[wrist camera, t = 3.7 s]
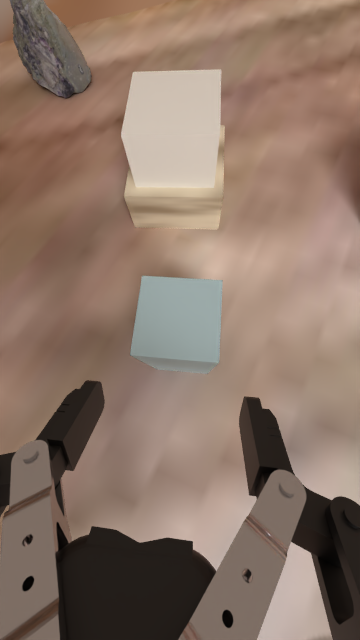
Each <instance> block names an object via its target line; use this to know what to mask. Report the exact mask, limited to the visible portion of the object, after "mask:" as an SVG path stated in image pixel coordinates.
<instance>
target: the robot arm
mask: <svg viewBox="0 0 360 640" xmlns="http://www.w3.org/2000/svg"><path fill="white" fill-rule="evenodd" d="M103 408H104V395H103V390H102V384H101V382H99V381H89V380H87V381H85V382H84V384H83V385H82V387H81V388H80V389H75V390H74V391H72V392H71V393H70V394H69V395H67V396H66V398H65V399H64V401H63V402H62V403H61V405H60V406H59V408H58V409H57V411H56V412H55V413H54V415H53V416H52V418H51V419H50V420H49V422H48V423H47V425H46V426H45V427H44V429H43V430H42V432H41V433H40V434H39V436H38V437H37V438H36V440H35V441H31V442H29V443H27V444H25V445H24V446H22V447H21V448H20V449H19V450H18V451H17V452H13V453H8V454H3V455H0V516H1V515H2V513H3V511H4V510H5V508H6V506H7V505H9V510H8V511H7V512H5V514H4V517H3V523H2V538H1V554H0V640H257V637H258V635H259V632H260V629H261V627H262V624H263V621H264V618H265V616H266V613H267V610H268V608H269V605H270V602H271V599H272V597H273V594H274V591H275V589H276V586H277V583H278V580H279V578H280V575H281V572H282V570H283V567H284V564H285V561H286V558H287V551H288V548H289V545H290V542H293V543H294V544H296V545H298V546H300V547H302V548H303V549H305V550H307V551H309V552H311V555H312V559H313V563H314V566H315V570H316V574H317V578H318V582H319V586H320V590H321V594H322V598H323V602H324V606H325V610H326V614H327V618H328V622H329V626H330V630H331V634H332V638H333V640H360V505H358V504H357V503H356V502H354V501H352V500H351V499H348V498H346V497H336V498H334V499H333V500H330V499H327V498H325V497H323V496H321V495H319V494H317V493H314V492H312V491H311V490H309V489H307V488H306V487H305V486H304V485H303V484H302V483H301V482H300V480H299V479H298V478H297V477H296V476H295V474H294V473H293V470H292V467H291V464H290V461H289V458H288V455H287V452H286V448H285V445H284V442H283V439H282V436H281V433H280V430H279V426H278V423H277V420H276V418H275V416H274V415H273V414H272V412H271V411H270V410H269V409H262V406H261V402H260V399H259V398H255V397H244V399H243V403H242V407H241V412H240V417H239V427H240V434H241V441H242V448H243V455H244V462H245V469H246V475H247V482H248V489H249V495H251V496H256V497H257V501H256V503H255V504H254V506H253V508H252V510H251V512H250V514H249V515H248V516H247V517H246V519H245V521H244V522H243V524H242V526H241V528H240V530H239V531H238V533H237V535H236V537H235V539H234V541H233V542H232V544H231V546H230V548H229V550H228V552H227V553H226V555H225V557H224V559H223V561H222V562H221V564H220V566H219V568H218V570H217V572H216V570H215V569H214V567H213V566H212V565H211V564H210V562H209V561H208V560H207V559H206V558H205V557H203V556H202V555H201V554H200V553H198V552H197V551H195V550H193V541H186V540H179V539H173V538H163V539H158V540H153V541H148V542H143V543H139V542H137V541H135V540H133V539H131V538H130V537H128V536H126V535H124V534H122V533H121V532H119V531H117V530H113V529H107V528H100V527H94V526H92V528H91V531H90V533H89V535H85V536H83V537H80V538H78V539H76V540H74V541H72V539H71V533H70V529H69V525H68V521H67V515H66V508H65V500H64V493H63V485H62V479H61V477H62V475H63V473H64V472H65V470H70V471H74V469H75V467H76V464H77V462H78V460H79V458H80V456H81V454H82V452H83V450H84V448H85V446H86V444H87V442H88V440H89V438H90V436H91V434H92V432H93V430H94V428H95V426H96V424H97V422H98V420H99V418H100V416H101V413H102V411H103Z"/></svg>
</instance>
